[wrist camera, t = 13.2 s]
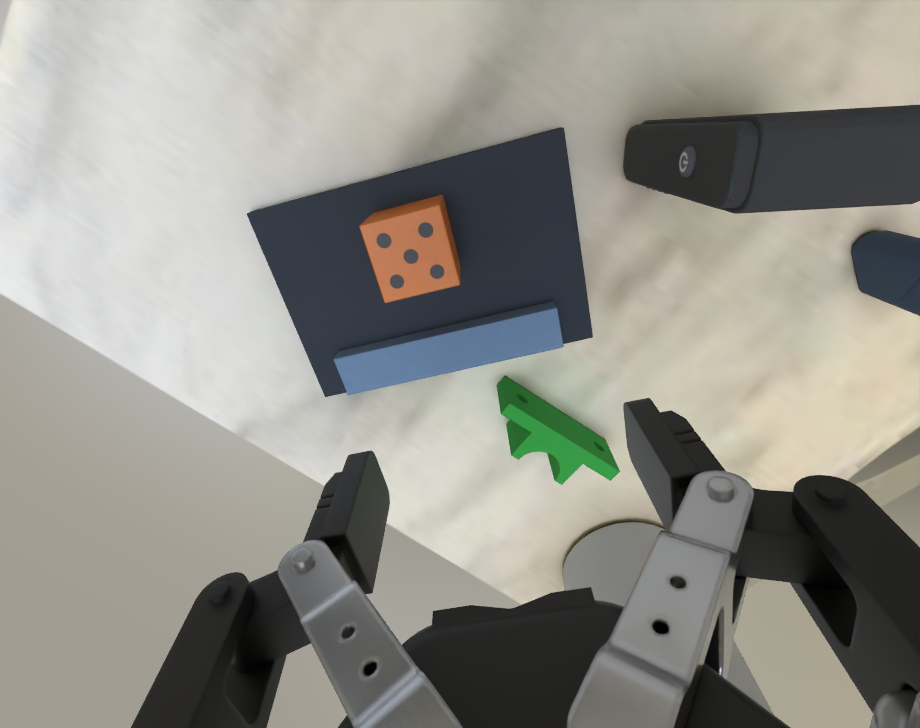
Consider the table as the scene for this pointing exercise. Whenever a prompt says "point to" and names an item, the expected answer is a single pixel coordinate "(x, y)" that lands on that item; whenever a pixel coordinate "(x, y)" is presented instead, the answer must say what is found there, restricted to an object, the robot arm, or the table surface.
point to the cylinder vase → (632, 580)
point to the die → (412, 249)
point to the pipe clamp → (551, 434)
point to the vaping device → (889, 268)
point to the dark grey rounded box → (782, 159)
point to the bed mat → (448, 310)
